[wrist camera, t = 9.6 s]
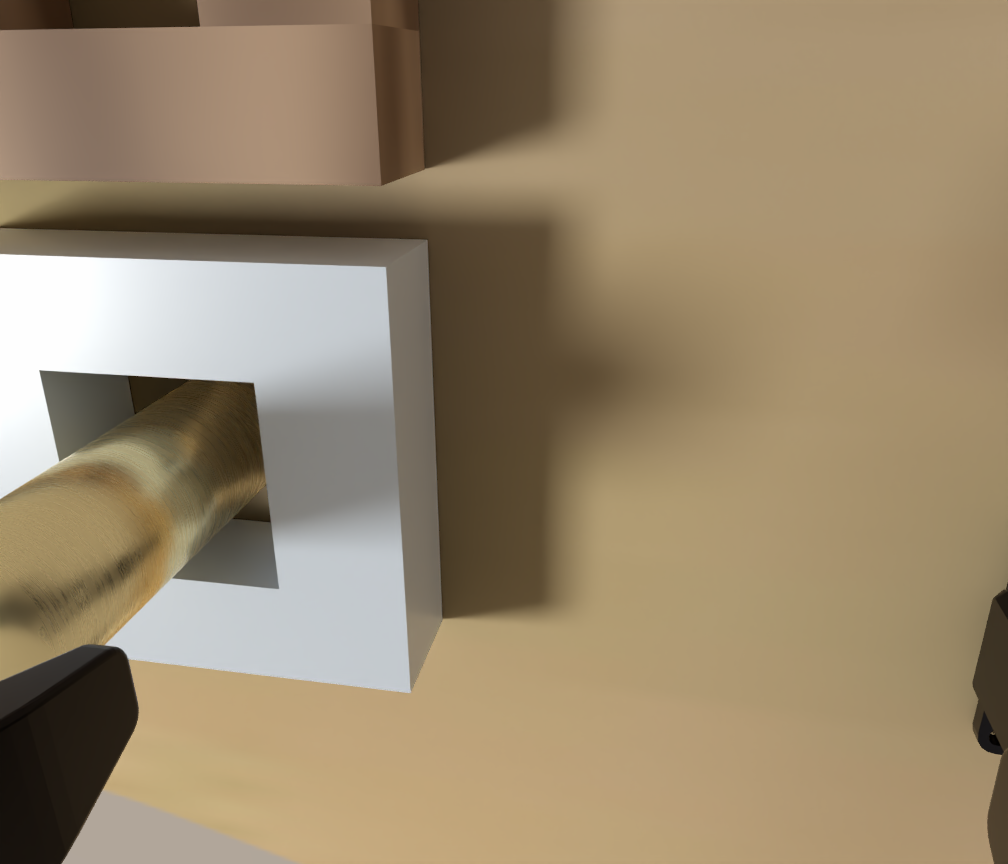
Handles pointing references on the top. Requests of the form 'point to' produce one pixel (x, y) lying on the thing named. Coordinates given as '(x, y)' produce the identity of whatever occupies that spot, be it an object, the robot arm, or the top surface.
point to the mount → (214, 95)
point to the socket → (282, 421)
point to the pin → (122, 519)
